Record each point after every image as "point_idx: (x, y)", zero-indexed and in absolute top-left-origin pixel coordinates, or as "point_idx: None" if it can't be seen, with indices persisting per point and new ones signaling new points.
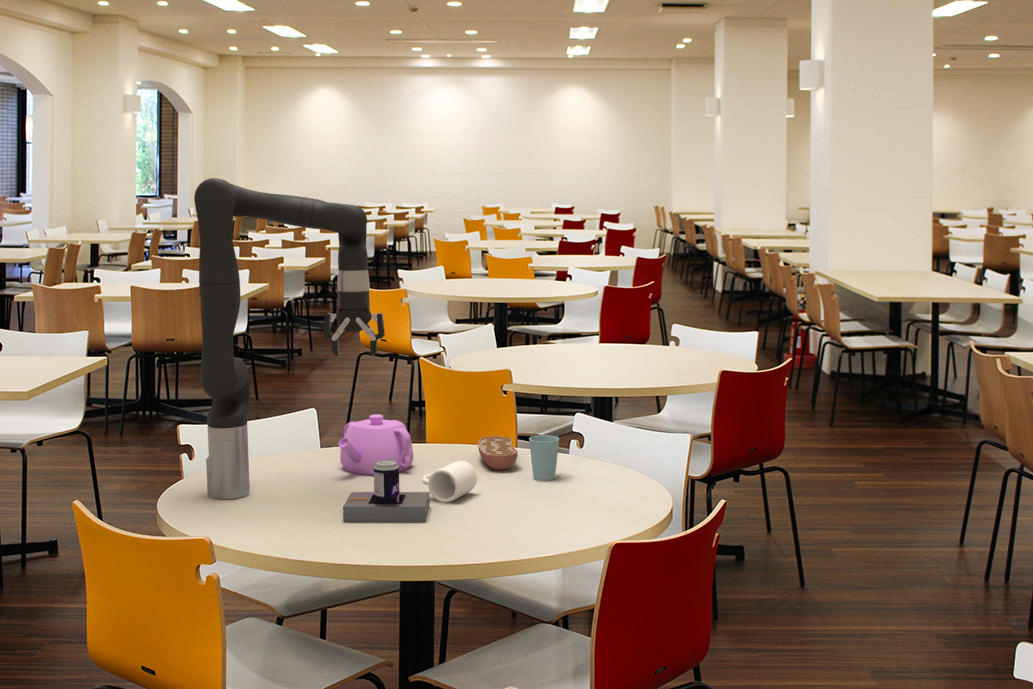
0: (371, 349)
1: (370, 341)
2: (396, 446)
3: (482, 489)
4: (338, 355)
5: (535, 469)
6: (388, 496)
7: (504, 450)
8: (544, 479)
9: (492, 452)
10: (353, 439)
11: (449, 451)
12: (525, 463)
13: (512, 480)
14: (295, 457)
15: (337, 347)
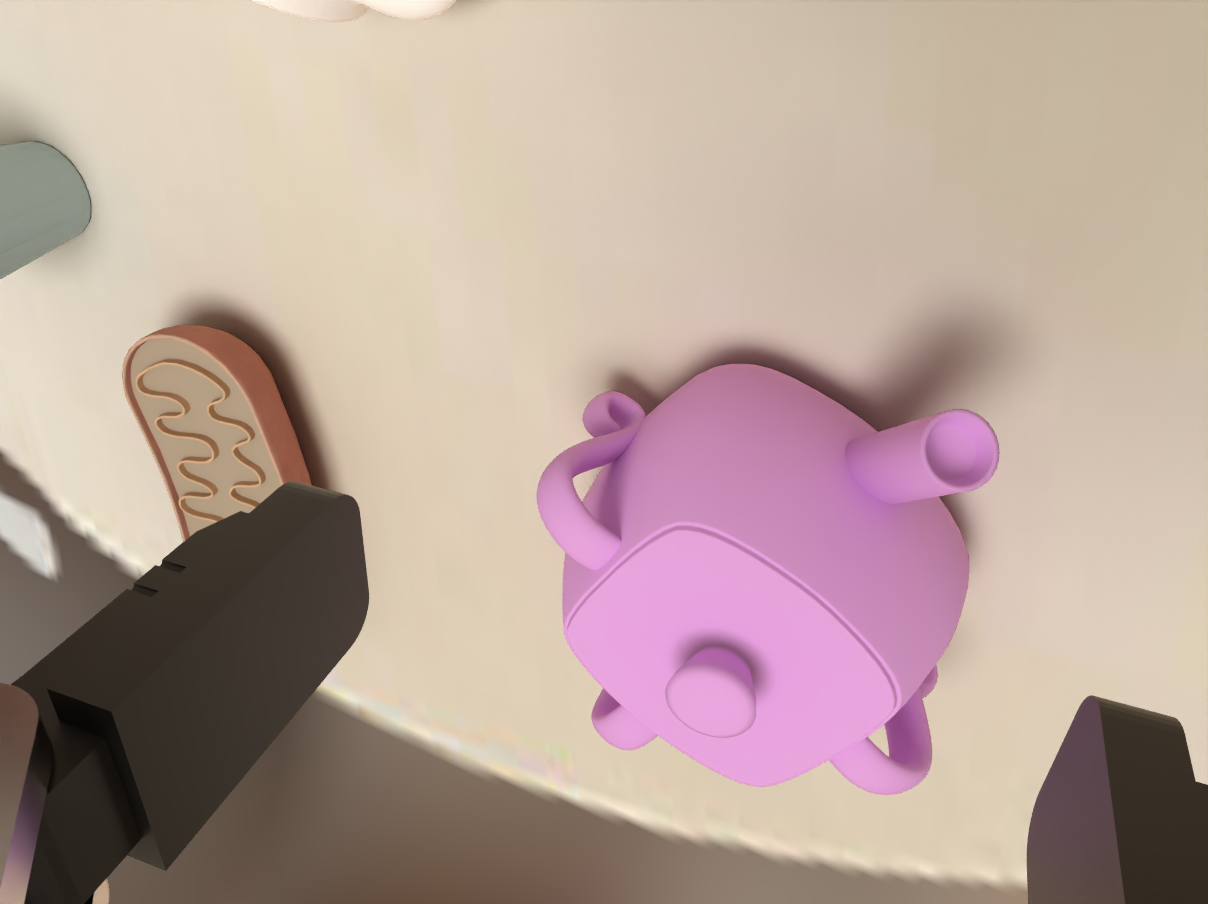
0: (233, 560)
1: (104, 709)
2: (632, 467)
3: (246, 15)
4: (1061, 754)
5: (33, 172)
6: None
7: (184, 433)
8: (33, 142)
9: (217, 400)
10: (882, 567)
11: (473, 675)
12: None
13: (159, 172)
14: None
15: (1124, 877)
